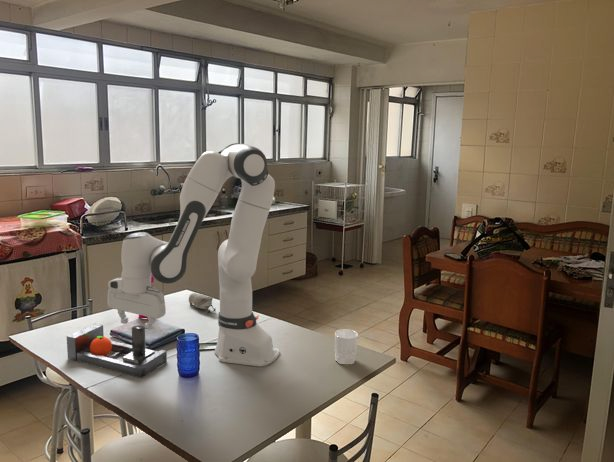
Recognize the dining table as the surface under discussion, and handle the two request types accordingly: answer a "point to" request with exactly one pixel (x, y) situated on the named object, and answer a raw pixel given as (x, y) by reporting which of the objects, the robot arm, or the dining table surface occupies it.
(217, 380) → the dining table surface
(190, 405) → the dining table surface
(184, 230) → the robot arm
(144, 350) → the ram
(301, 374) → the dining table surface
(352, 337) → the white cup
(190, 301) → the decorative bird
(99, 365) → the press
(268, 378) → the dining table surface
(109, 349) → the clementine
